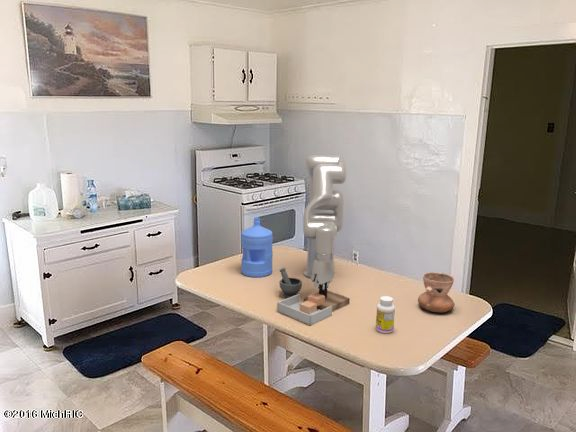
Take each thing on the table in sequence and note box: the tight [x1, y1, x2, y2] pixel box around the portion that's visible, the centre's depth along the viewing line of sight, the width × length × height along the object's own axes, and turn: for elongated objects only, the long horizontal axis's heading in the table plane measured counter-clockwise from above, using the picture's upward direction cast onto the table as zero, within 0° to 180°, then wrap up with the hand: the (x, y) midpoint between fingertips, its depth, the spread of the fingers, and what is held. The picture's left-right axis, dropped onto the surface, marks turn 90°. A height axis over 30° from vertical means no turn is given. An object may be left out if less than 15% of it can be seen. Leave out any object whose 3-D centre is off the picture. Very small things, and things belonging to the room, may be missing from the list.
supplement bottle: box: [375, 295, 396, 334], centre depth 183 cm, size 7×7×13 cm
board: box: [302, 290, 351, 313], centre depth 208 cm, size 14×14×2 cm
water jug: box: [240, 216, 274, 278], centre depth 241 cm, size 16×16×28 cm
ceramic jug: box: [417, 271, 455, 313], centre depth 204 cm, size 18×14×14 cm
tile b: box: [300, 300, 317, 314], centre depth 199 cm, size 5×5×3 cm
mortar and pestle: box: [279, 267, 303, 299], centre depth 214 cm, size 11×9×12 cm
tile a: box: [308, 292, 325, 306], centre depth 202 cm, size 5×5×3 cm
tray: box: [276, 293, 333, 326], centre depth 198 cm, size 13×18×4 cm
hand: (322, 297), depth 205 cm, fingers closed
